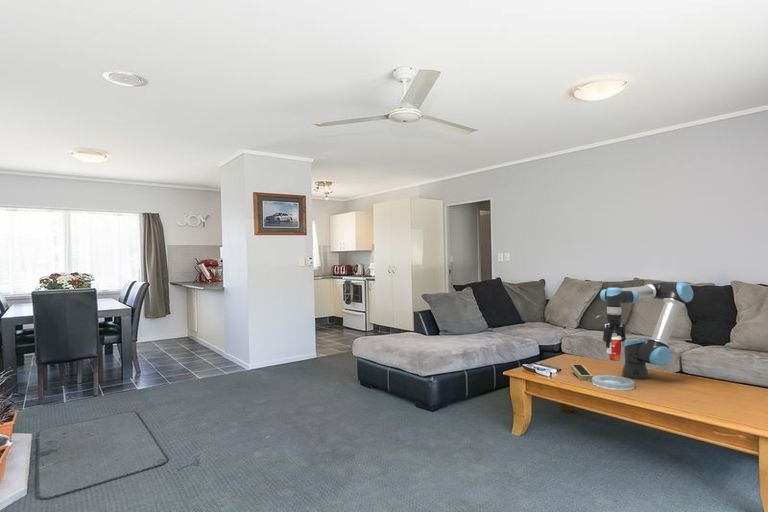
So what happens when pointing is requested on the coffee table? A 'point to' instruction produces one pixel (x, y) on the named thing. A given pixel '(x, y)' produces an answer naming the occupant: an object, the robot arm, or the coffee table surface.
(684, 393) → the coffee table surface
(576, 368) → the box
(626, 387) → the ring tray
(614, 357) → the paper cup
